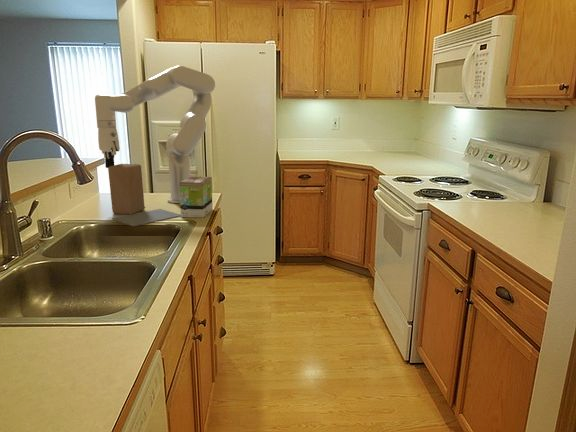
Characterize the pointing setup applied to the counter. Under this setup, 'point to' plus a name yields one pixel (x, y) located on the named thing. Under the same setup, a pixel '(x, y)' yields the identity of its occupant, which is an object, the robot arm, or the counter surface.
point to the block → (126, 188)
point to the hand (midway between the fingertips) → (110, 167)
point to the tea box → (196, 196)
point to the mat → (146, 217)
